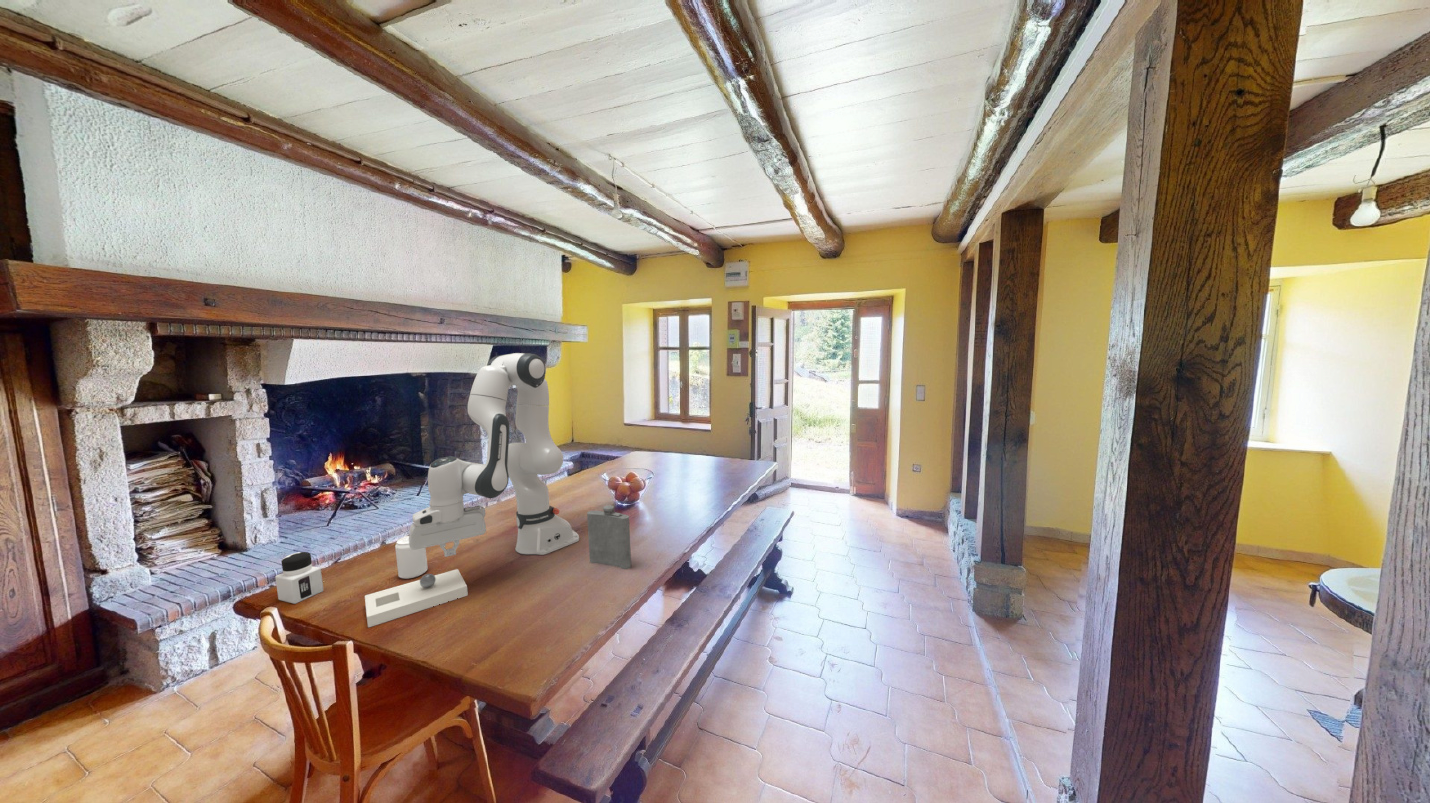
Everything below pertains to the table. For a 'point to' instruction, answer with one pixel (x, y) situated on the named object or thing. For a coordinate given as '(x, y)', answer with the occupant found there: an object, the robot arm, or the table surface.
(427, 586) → the steel ball
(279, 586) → the container
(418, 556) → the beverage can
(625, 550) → the hip flask
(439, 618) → the table surface
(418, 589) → the hole board
